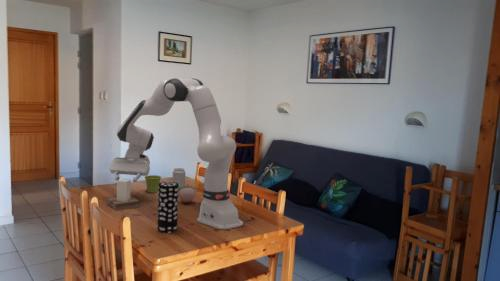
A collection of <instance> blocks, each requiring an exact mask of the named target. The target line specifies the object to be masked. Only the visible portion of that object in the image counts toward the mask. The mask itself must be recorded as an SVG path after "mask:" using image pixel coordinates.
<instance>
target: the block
mask: <svg viewBox="0 0 500 281" xmlns="http://www.w3.org/2000/svg"><path fill="white" fill-rule="evenodd" d="M131 183H132V182H131V179H127V178H119V180H118V181H116V197H117V201H128V200H129V199H130V196H131Z"/></svg>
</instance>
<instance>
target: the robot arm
mask: <svg viewBox="0 0 500 281" xmlns="http://www.w3.org/2000/svg"><path fill="white" fill-rule="evenodd" d="M175 102H189V104H190V105H191V109H192V111H193V114H194V118H195V121H196V125H197V129H198V137H199V138H198V140H199V143H198V146H197V150H196V151H197V155H198V157H199V159H200V160H201V161H203V162H205V163H208V165H207V166H206V167H207V168H206V169H205V171H204V177H203V178H204V182H203V189H202V197H203V198H202V201H201V203H200V207H199V208H200V209H199V215H198V217H197V218H196V222H199V223H200V224H203V225H206V226H209V227H212V228H215V229H218V230H229V229H235V228H239V227H242V226H243V225H244V222H243V221H242V220H241V219H240V218H239V211H238V208H237V207H236V206H235V205H234V204H233V202H232V201H231V199H230V196H231V193H230V191H229V187H228V186H229V174H230V167H231V165H232V164H231V163H232V160H233V156H234V154H235V152H236V150H237V144H236V140H235V139H233V138H232V137H231V136H227V135H222V134H221V125H222V118H221V115H220V112H219V109H218V106H217V102H216V100H215V98H214V95H213V93H212V92H211V89H210V88H209V87H208V86H206V85H205V84H203V82H202V81H201V80H200V79H197V78H191V77H190V78H188V77H178V78H176V77H175V78H170V79H169V78H164V79H163V80H161V81H160V83H159V84H158V85H157V87H156V88H155V90H154V91H153V93H152V95H151V96H150V97H149V98H147V99H146V100H145V99H144V100H143V99H142V100H141V101H140V102H139V103H138V104H137V106H136V107H135V108H134V109H133V110H132V111H131V113H130V114H129V116H128V117H127V118H126V119H125V120H124V121H123V123H122V124H120V126H119V127H118V129H117V133H116V136H117V138H118V140H119V141H120V142H124V143H128V149H127V150H126V152H125V154H124V157H118V156H117V157H116V158H112V162H111V164H110V166H109V168H108V169H109V171H110V174H114V175H115V177H114V180H115V182H117V181H118V180H120V177H119V175H128V176H135V177H133V179H132V181H133V182H134V183H137V182H138V180H140V178H141V177H145V176H149V173H150V169H151V166H150V165H151V163H150V162H151V161H150V158H149V157H148V155H146V154H144V152H146V151H149V150H150V149H151V148H152V145H153V142H154V139H155V136H154V134H153V132H151V131H150V130H147V129H145V128H141V127H139V126H138V125H135V123H136V122H137V121H138V120H139V118H140V117H141V116H155V117H160V116H164V115H167V114H168V113H169V112H170V111H171V109H172V108H173V106H174V105H175Z"/></svg>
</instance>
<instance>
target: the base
mask: <svg viewBox="0 0 500 281" xmlns="http://www.w3.org/2000/svg"><path fill="white" fill-rule="evenodd" d="M140 202H141V201H140V200H139V199H137V198H135V197H134V196H131V195H130V199H129V200H128V201H117V196H116V197H108V198H106V204H107V205H108V206H109V207H111V208H112V209H114V210H115V211H121V210H128V209H134V208H135V209H136V208H140V207H141V205H140V204H141V203H140Z"/></svg>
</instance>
